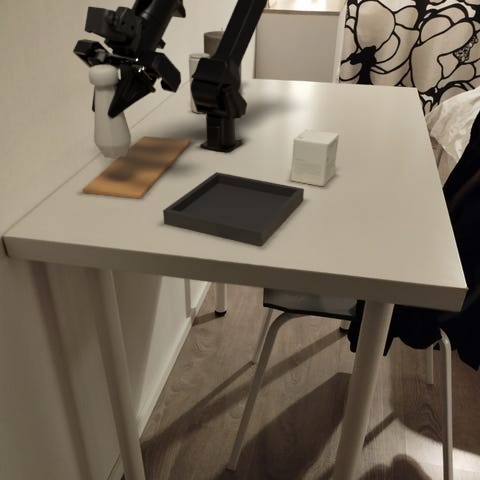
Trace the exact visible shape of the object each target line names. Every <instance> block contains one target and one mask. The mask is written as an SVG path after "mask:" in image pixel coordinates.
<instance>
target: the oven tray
mask: <svg viewBox="0 0 480 480" xmlns="http://www.w3.org/2000/svg"><path fill="white" fill-rule="evenodd" d="M304 193H305V188H302V187H297V186H292V185H286V184H281V183H275V182H271V181H266V180H260V179H256V178H249V177H245V176H244V177H243V176H238V175H234V174H229V173H228V174H227V173H223V172H217V171H216V172H215V173H213V174H212V175H210V176H209V177H208V178H206V179H205V180H203V181H202V182H201V183H199V184H198V185H197V186H195V187H194V188H192V189H191V190H190V191H188V192H187V193H185V194H184V195H183V196H181V197H180V198H178V199H177V200H176V201H174V202H173V203H172V204H170V205H168V206H167V207H166V208H165V209H163V210H162V213H163V215H162V216H163V224H164V225H168V226H171V227H172V226H173V227H177V228H180V229H185V230H190V231H193V232H199V233H203V234H207V235H211V236H215V237H219V238H223V239H228V240H232V241H237V242H241V243H246V244H248V245H253V246H258V247H262V246H263V245H264V244H265V243H266V242H267V241H268V240H269V239H270V238H271V236H273V235H274V234H275V232H276V231H277V230H278V229H279V228H280V227H281V226H282V224H283V223H284V222H286V220H287V219H288V218H289V217H290V216H291V215H292V214H293V213H294V212H295V210H297V208H298V207H299V206H300V205H301V204H302V203H303V202H304V196H305V195H304Z"/></svg>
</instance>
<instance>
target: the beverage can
mask: <svg viewBox="0 0 480 480" xmlns="http://www.w3.org/2000/svg"><path fill="white" fill-rule="evenodd" d="M209 56H210V55H209V54H206V53H204V52H194V53H190V54H188V71H189V88H191V83H192V80H193V78H191V76H192V75H193V74H194V72H195V70H196V68H197V64H198V61H199V60H200V58H201V57H205V58H210V57H209ZM189 93H190V94H189V95H190V109H191V110H192V112H193V113H196V114H203V113H202V112H197V110H196V107H195V103H194V100H193V97H192V93H191V90H190V89H189Z"/></svg>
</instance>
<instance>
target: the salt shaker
mask: <svg viewBox="0 0 480 480" xmlns="http://www.w3.org/2000/svg"><path fill="white" fill-rule="evenodd" d="M119 77H120V76H119V70H118V71H117V69H116V68H115V67H114V66H111V65H96V66H93V67H91V68H89V69H88V80H89V83H90V84H91V85H93V86H95V113H94V129H93V142H94V144H95V146H96V147H97V149H98V150H99V151H100V153H101V155H102V156H103V157H104V158H109V159H118V158H120V157H123V156H126V154H127V153H128V150H129V149H130V146H131V143H132V135H131V132H130V129H129V128H130V127H129V125H128V122H127V119H126V115H125V110H124V111H123V112H121V113H120V114H119V115H117V116H116V117H115V118H111V117H109V116H108V115H107V113H108V110H109V107H110V104H111V101H112V99H113V97H114V94H115V92H116V89H117V87H116V83H118V79H120V78H119Z"/></svg>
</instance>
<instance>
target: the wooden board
mask: <svg viewBox="0 0 480 480" xmlns="http://www.w3.org/2000/svg"><path fill="white" fill-rule="evenodd" d="M190 144H191V139H183V138H171V137H170V138H169V137H159V136H145V135H144V136H143V137H141V138H140V139H139V140H137V142H136V143H134V144H133V145H132V146H131V147H129V149H128V153H127V154H126V156H123V157H118V158H116V160H115V161H114V162H113V163H111V164H110V165H109V166H107V168H106V169H104V170H103V171H102V172H101V173H100V174H99V175H97V176H96V177H95V178H94V179H93V180H91V182H89V183H88V184H87V185H86V186H85V187H84V188H82V193H83V194H91V195H101V196H111V197H112V196H113V197H121V198H123V197H124V198H132V199H142V198H143V197H144V195H146V193H147V192H148V191H149V190H150V189H151V188H152V187H153V186H154V185H155V183H156V182H157V181H158V180H159V179H160V178H161V177H162V175H163V174H165V172H166V171H167V170H168V169H169V168H170V166H172V164H174V162H175V161H176V160H177V159H178V158H179V156H180V155H181V154H182V153H183V152H184V151H185V150H186V149H187V148H188V146H189V145H190Z"/></svg>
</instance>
